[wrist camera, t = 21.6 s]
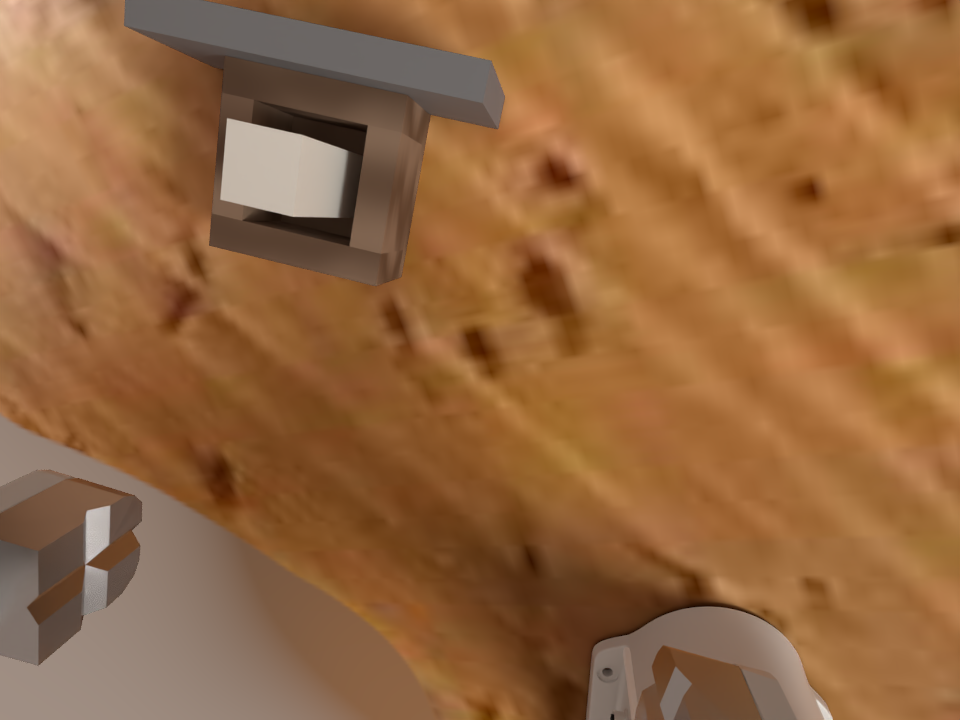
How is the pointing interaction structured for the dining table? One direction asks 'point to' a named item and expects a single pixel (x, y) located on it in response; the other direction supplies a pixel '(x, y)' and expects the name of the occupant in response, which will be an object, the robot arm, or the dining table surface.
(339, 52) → the wall
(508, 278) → the dining table surface
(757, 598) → the dining table surface
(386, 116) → the brown square open box
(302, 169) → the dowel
